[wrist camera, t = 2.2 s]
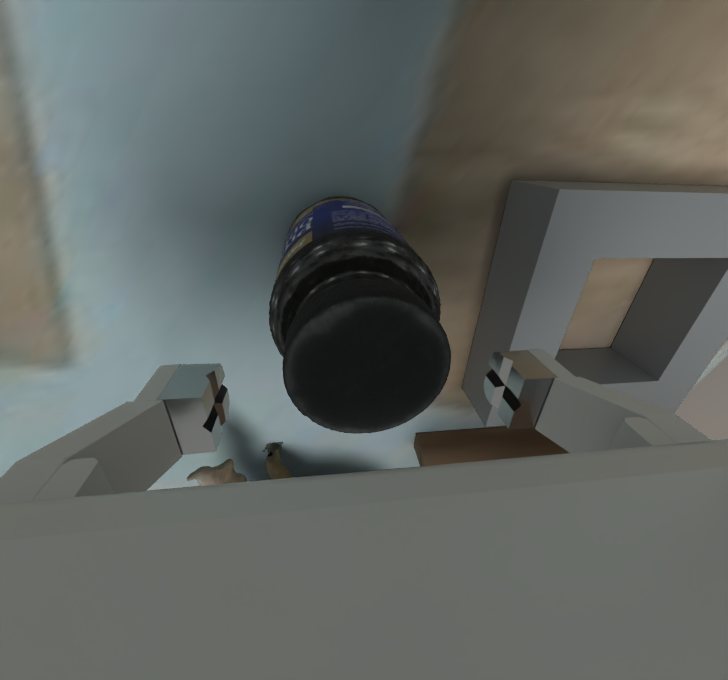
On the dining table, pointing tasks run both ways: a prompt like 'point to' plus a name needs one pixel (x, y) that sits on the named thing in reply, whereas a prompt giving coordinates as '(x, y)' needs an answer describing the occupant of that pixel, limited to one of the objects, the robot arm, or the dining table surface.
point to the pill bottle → (356, 320)
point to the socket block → (571, 269)
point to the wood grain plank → (482, 445)
